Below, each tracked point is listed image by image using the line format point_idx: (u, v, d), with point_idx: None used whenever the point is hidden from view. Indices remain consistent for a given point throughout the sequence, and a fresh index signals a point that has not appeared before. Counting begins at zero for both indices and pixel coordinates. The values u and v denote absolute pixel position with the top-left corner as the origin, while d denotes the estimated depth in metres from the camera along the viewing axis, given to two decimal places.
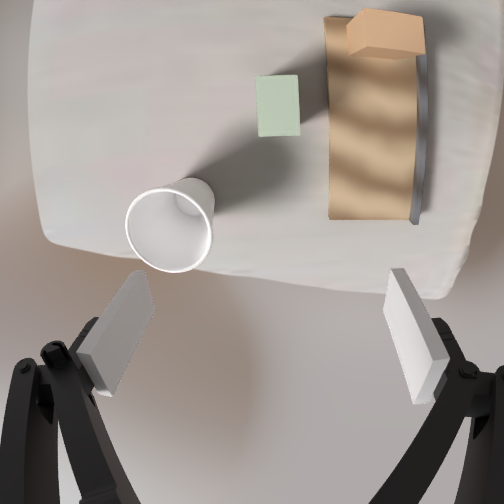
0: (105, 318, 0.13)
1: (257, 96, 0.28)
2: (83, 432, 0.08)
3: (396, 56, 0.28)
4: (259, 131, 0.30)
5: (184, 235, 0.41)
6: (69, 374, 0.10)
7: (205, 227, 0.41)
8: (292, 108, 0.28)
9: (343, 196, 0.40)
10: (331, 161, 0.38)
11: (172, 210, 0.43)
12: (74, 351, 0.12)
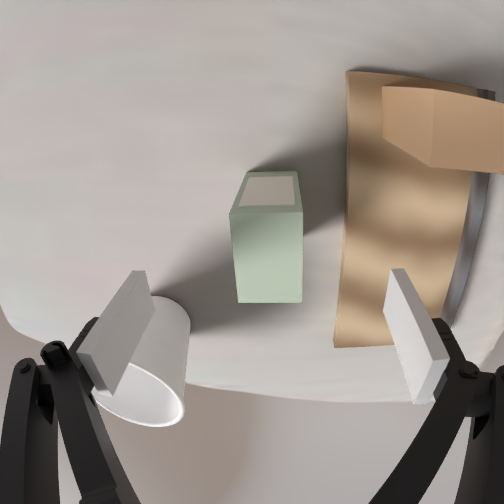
0: (105, 318, 0.13)
1: (235, 246, 0.19)
2: (83, 432, 0.08)
3: None
4: (239, 296, 0.20)
5: None
6: (69, 374, 0.10)
7: None
8: (292, 265, 0.19)
9: (354, 324, 0.31)
10: (343, 287, 0.29)
11: None
12: (74, 351, 0.12)
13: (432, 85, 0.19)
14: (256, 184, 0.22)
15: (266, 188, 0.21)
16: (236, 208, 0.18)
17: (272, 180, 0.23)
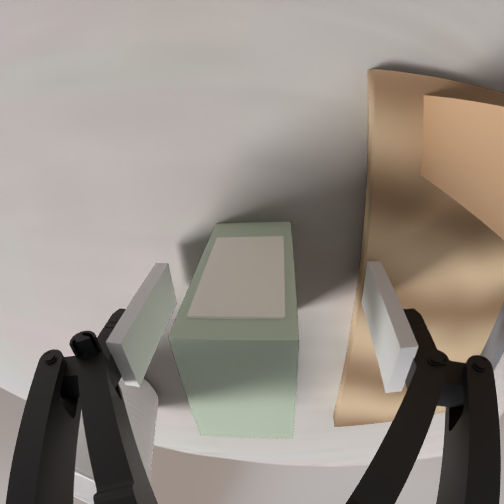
0: (133, 309, 0.14)
1: (185, 379, 0.11)
2: (106, 425, 0.08)
3: None
4: (200, 429, 0.12)
5: None
6: (97, 365, 0.11)
7: None
8: (278, 403, 0.11)
9: (360, 405, 0.23)
10: (349, 369, 0.21)
11: None
12: (101, 342, 0.13)
13: (491, 97, 0.12)
14: (225, 256, 0.14)
15: (240, 267, 0.13)
16: (183, 321, 0.10)
17: (251, 246, 0.15)
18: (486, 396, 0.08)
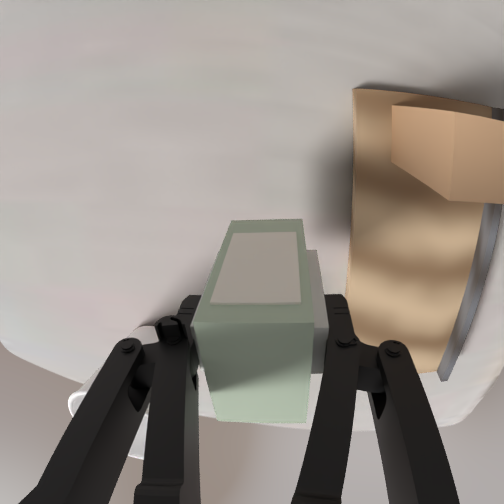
0: None
1: (206, 363, 0.12)
2: (172, 418, 0.09)
3: None
4: (218, 414, 0.13)
5: None
6: (179, 353, 0.12)
7: None
8: (293, 386, 0.12)
9: None
10: None
11: None
12: None
13: (445, 104, 0.18)
14: (242, 249, 0.15)
15: (256, 259, 0.14)
16: (206, 307, 0.11)
17: (266, 241, 0.16)
18: (408, 379, 0.09)
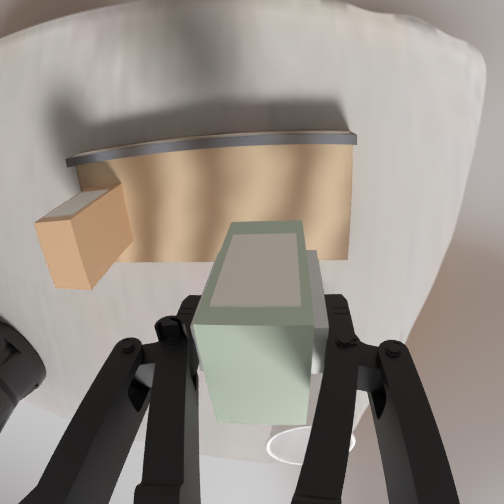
0: None
1: (206, 365, 0.12)
2: (172, 418, 0.09)
3: (106, 208, 0.26)
4: (218, 416, 0.13)
5: None
6: (179, 353, 0.12)
7: None
8: (293, 388, 0.12)
9: (315, 244, 0.30)
10: None
11: None
12: None
13: None
14: (242, 251, 0.15)
15: (256, 261, 0.14)
16: (206, 310, 0.11)
17: (266, 242, 0.16)
18: (408, 379, 0.09)
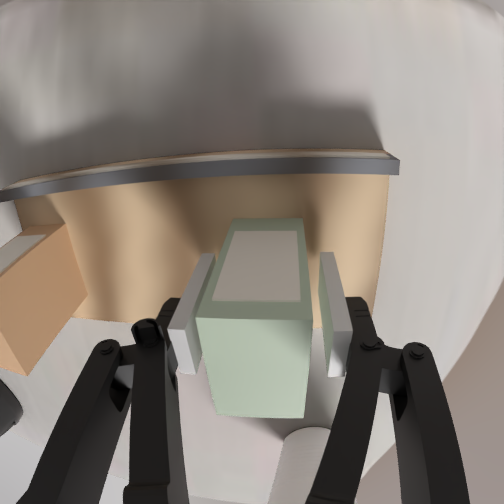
0: (189, 296, 0.15)
1: (207, 358, 0.12)
2: (154, 418, 0.09)
3: (42, 263, 0.18)
4: (217, 408, 0.14)
5: None
6: (157, 355, 0.11)
7: None
8: (292, 382, 0.12)
9: None
10: None
11: None
12: None
13: None
14: (244, 247, 0.15)
15: (258, 257, 0.14)
16: (208, 303, 0.12)
17: (267, 239, 0.16)
18: (429, 382, 0.09)
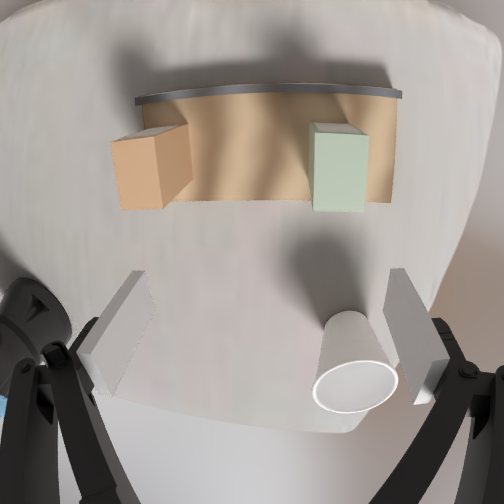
0: (105, 318, 0.13)
1: (316, 159, 0.23)
2: (83, 432, 0.08)
3: (178, 140, 0.28)
4: (314, 204, 0.24)
5: None
6: (69, 374, 0.10)
7: None
8: (359, 178, 0.23)
9: None
10: None
11: None
12: (74, 351, 0.12)
13: None
14: (323, 124, 0.26)
15: (333, 126, 0.25)
16: (318, 131, 0.22)
17: (334, 124, 0.27)
18: None
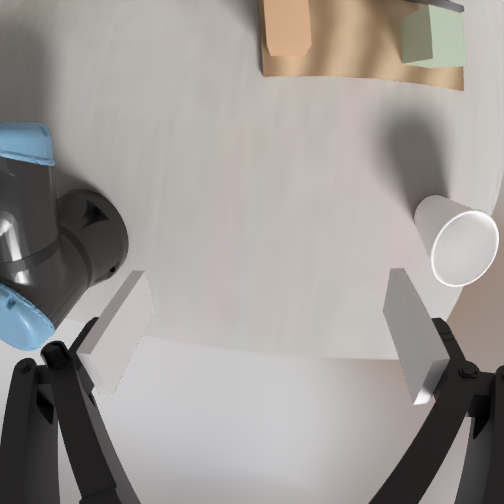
0: (105, 318, 0.13)
1: (431, 22, 0.21)
2: (83, 432, 0.08)
3: None
4: (433, 54, 0.23)
5: (464, 230, 0.37)
6: (69, 374, 0.10)
7: None
8: (459, 40, 0.22)
9: (443, 74, 0.31)
10: (412, 81, 0.32)
11: (438, 235, 0.41)
12: (74, 351, 0.12)
13: (263, 24, 0.31)
14: None
15: None
16: None
17: None
18: None
